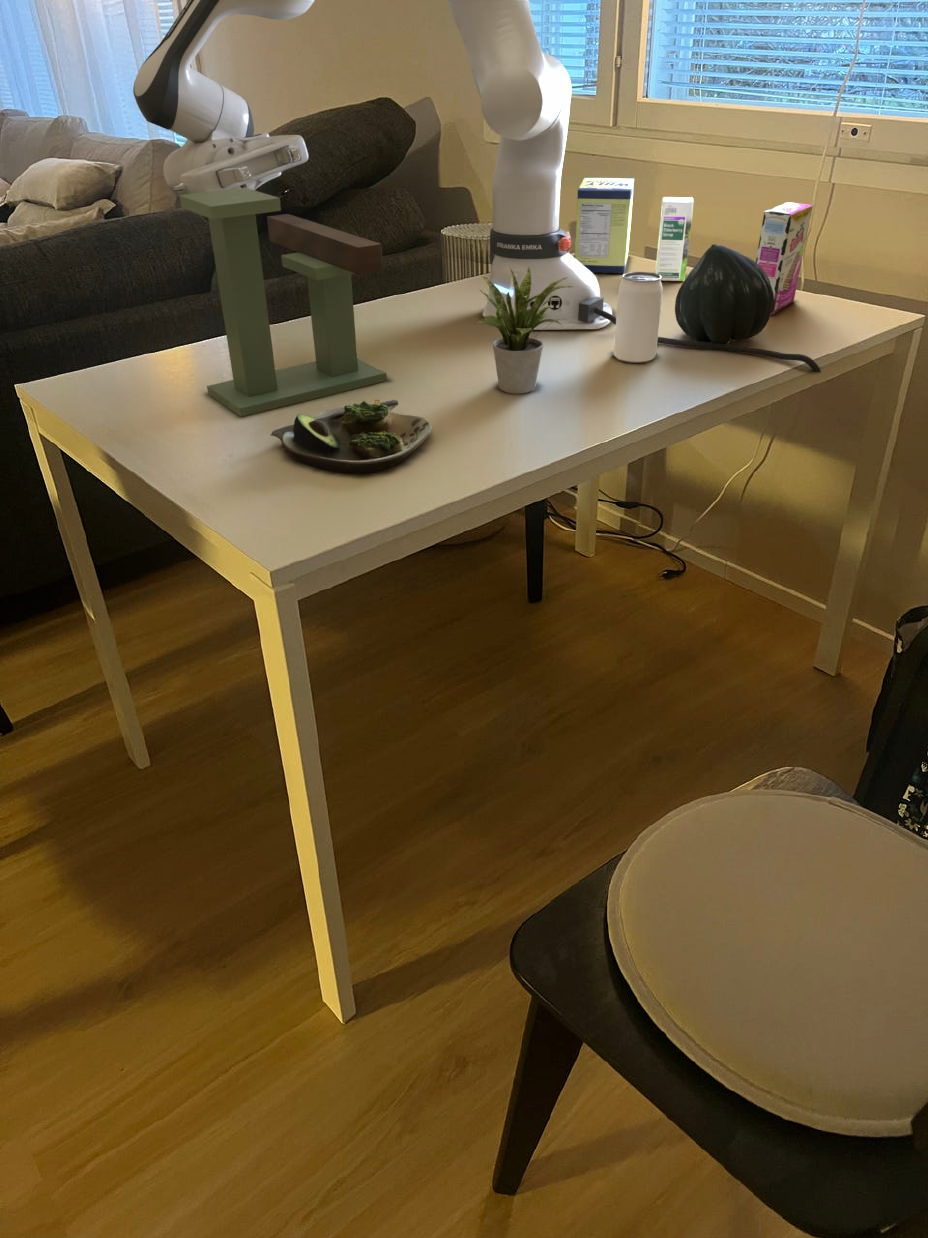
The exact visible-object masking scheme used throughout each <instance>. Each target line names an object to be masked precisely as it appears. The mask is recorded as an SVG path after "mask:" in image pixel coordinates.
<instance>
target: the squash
mask: <svg viewBox="0 0 928 1238" xmlns="http://www.w3.org/2000/svg"><path fill="white" fill-rule="evenodd" d="M773 301H774V294H773V290H772V286H771V284H770V280H769V278H768V276H767V274H766V273H765V271H764V270H763V269H762V268H761V267H760V266H759V265H758V264H757V263H756V260H753V259H752V258H750V257H748V256H746V255H744V254H743V253H741V252H738V251H737V250H735V249H732V248H730V247H728V246H725V245H719V244H716V243H713V244H711V245H710V247H709V248H707V249H706V251H705V252H704V254H702V256H701V257H700V259H699V260H698V262H697V263H696V264H695V266H694V267H693V268H692V269H691V271H690V272H689V273H688V275H687V276H686V277H685V281H682V284H681V285H680V287H679V288H678V290H677V293H676V296H675V302H674V303H675V304H674V314H675V321H676V323H677V325H678V326H679V328H680V329H681V330H682V332H683V333H684V334H686V335H687V336H689V337H691V338H692V339H693V341H700V342H713V343H723V344H730V341H731V340H732V341H733V342H741V341H744V340H749V339H751V338H754V337H755V336H757V335H759V334H760V333H761V332H762V331H764V329H765V328H766V327H767V324H768V323H769V321H770V319H771V316H772V315H771V312H772V308H773Z"/></svg>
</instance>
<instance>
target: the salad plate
mask: <svg viewBox="0 0 928 1238" xmlns="http://www.w3.org/2000/svg"><path fill="white" fill-rule="evenodd" d="M399 405H400V404H399V400H396V399H392V400H386V401H382V402H380V399H375V400H374V403H373V404H371V403H368V402H367V401H366V400H362V402H361V403H353V404H352V405H350V404H348V405H344V406H342V407H341V406H340V407H334V408H330V409H327V410H325V411H322V412H321V413H318V414H317V415H315V416H314V417H313V416H310V415H308V414H304V413H300V414H297V415H296V416H295V418H294V421H293V424H290V425H287V426H283V427H281V428H277V429H274V430H272V432H271V433H270V436H273V437H275V438H277V439H278V440H280V442H281V444H282V446H283V447H284V449H285V451H287V452H288V454H289V455H290V456H291V457H292V458H293V459H294V460H295V461H297V462H299V463H300V464H304V465H308V466H311V467H314V468H318V469H321V470H325V471H330V472H335V473H342V474H373V473H377V472H381V471H384V470H387V469H389V468H391V467H393V466H395V465H396V464H399V463H400V462H402V461H404V460H405V459H407V458H408V457H409V455H410V454H411V453H413V451H415V450H416V449H418V448H419V447H421V445H422V444H423V443H424V442H425V441H426V439H427V438H428V437H429V436H430V435H431V434H433V433H432V432H433V425H432V423H430V422H429V420H428V419H426V418H424V417H421V416H418V415H410V414H403V413H396V412H392V411H393V410H394V409H395V408H397V407H398V406H399Z"/></svg>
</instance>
